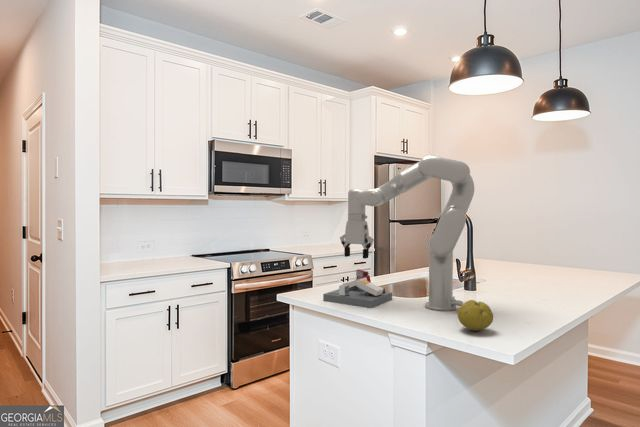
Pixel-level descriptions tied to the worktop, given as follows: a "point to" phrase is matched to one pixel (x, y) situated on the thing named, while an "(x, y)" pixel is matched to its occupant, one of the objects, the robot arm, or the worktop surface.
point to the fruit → (475, 315)
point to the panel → (358, 297)
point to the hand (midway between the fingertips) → (356, 257)
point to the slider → (344, 290)
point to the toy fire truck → (362, 275)
